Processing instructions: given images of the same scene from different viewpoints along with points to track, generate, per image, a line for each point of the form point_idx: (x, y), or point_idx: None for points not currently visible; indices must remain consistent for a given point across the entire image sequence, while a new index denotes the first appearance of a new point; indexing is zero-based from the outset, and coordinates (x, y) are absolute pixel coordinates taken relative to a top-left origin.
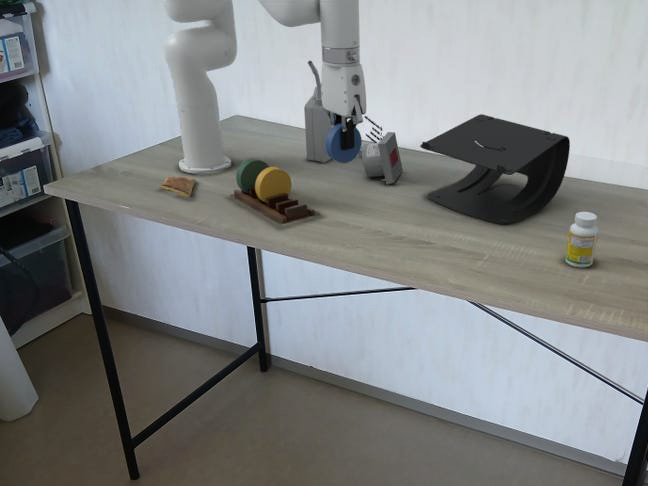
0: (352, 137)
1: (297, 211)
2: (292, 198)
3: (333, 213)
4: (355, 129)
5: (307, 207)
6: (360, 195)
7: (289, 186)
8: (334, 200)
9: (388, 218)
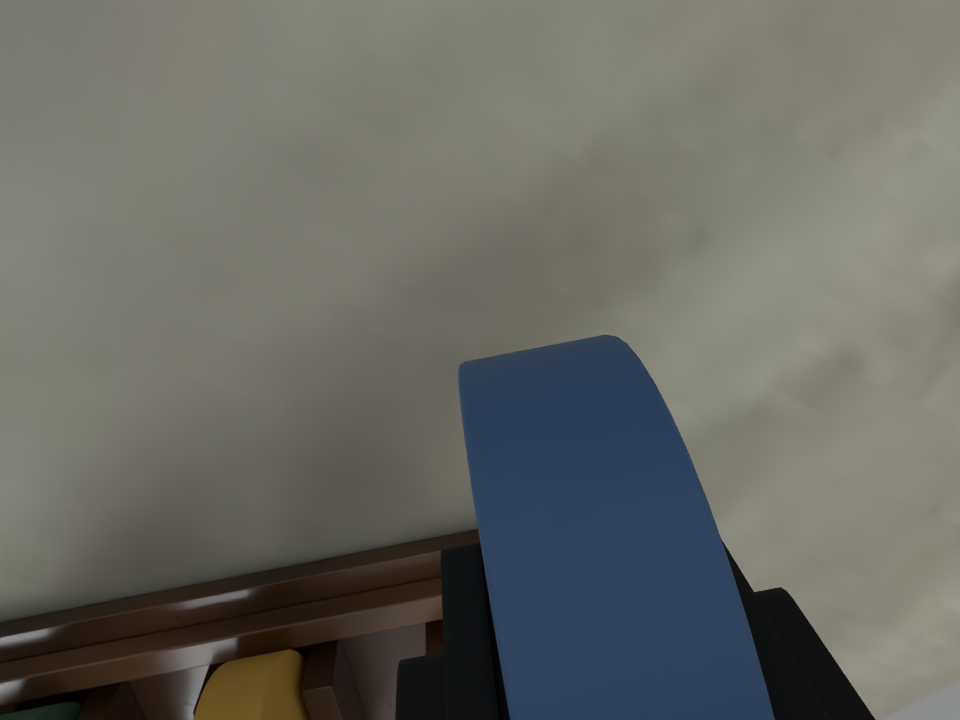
0: (843, 688)
1: None
2: (316, 627)
3: None
4: (747, 652)
5: None
6: (300, 88)
7: (276, 691)
8: (326, 324)
9: (832, 116)
